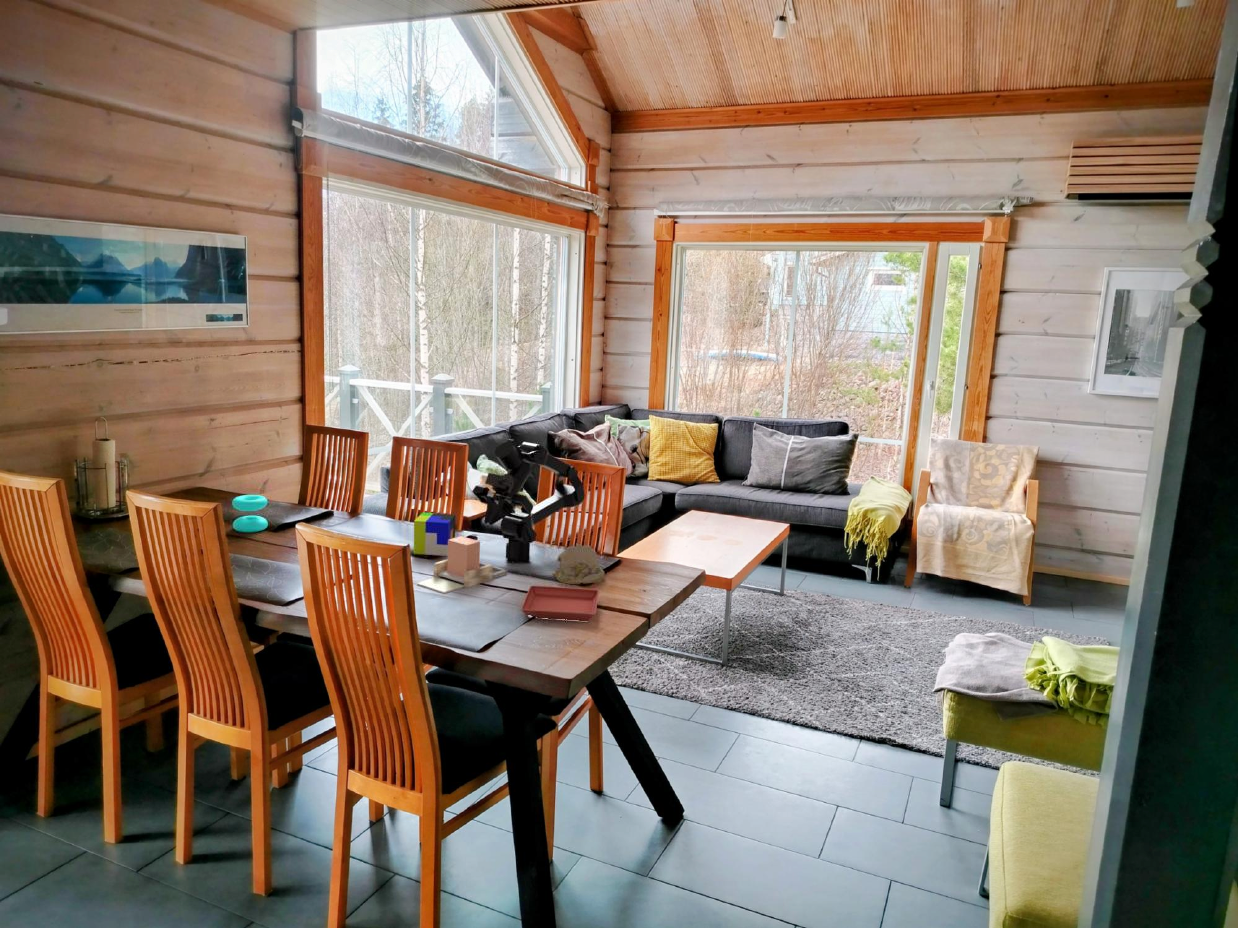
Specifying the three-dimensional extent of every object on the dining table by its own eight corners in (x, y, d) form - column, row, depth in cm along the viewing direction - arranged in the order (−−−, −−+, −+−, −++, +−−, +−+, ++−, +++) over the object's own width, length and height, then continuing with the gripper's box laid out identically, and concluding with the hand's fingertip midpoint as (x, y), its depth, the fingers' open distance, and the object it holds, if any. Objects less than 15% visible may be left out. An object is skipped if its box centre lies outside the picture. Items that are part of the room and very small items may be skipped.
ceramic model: (556, 585, 236) (557, 549, 234) (549, 571, 247) (551, 537, 245) (606, 583, 240) (608, 548, 238) (598, 570, 250) (600, 537, 248)
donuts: (254, 492, 276) (274, 497, 270) (255, 522, 278) (274, 528, 272) (225, 497, 267) (245, 503, 262) (226, 528, 269) (245, 535, 264)
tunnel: (459, 569, 244) (460, 555, 243) (492, 578, 238) (492, 564, 237) (433, 577, 236) (433, 563, 235) (466, 587, 229) (466, 573, 229)
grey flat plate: (475, 564, 249) (475, 560, 249) (507, 573, 243) (507, 570, 243) (460, 568, 244) (460, 565, 244) (492, 578, 238) (492, 575, 238)
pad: (436, 578, 235) (436, 576, 235) (463, 586, 230) (463, 585, 230) (417, 584, 230) (417, 583, 230) (444, 593, 224) (444, 591, 224)
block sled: (462, 567, 243) (463, 534, 241) (486, 575, 238) (487, 540, 236) (439, 575, 235) (439, 540, 234) (463, 583, 231) (464, 547, 229)
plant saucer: (529, 596, 227) (530, 584, 226) (598, 600, 227) (599, 588, 226) (519, 622, 209) (520, 608, 209) (594, 627, 209) (595, 613, 208)
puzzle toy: (447, 555, 256) (448, 523, 254) (413, 553, 256) (414, 520, 254) (454, 546, 266) (455, 514, 264) (422, 544, 266) (422, 512, 264)
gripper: (477, 457, 248) (448, 501, 241) (528, 467, 238) (499, 513, 231) (495, 480, 256) (468, 523, 249) (545, 491, 246) (518, 536, 239)
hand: (487, 523), depth 242 cm, fingers closed
